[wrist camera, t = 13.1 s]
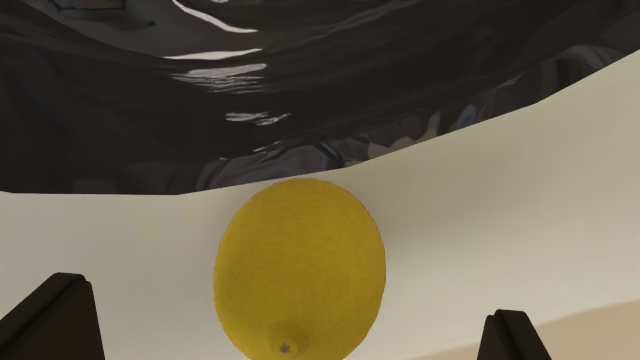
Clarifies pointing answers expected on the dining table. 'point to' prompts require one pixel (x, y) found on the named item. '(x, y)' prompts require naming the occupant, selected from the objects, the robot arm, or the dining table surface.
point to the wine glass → (271, 83)
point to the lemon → (299, 273)
